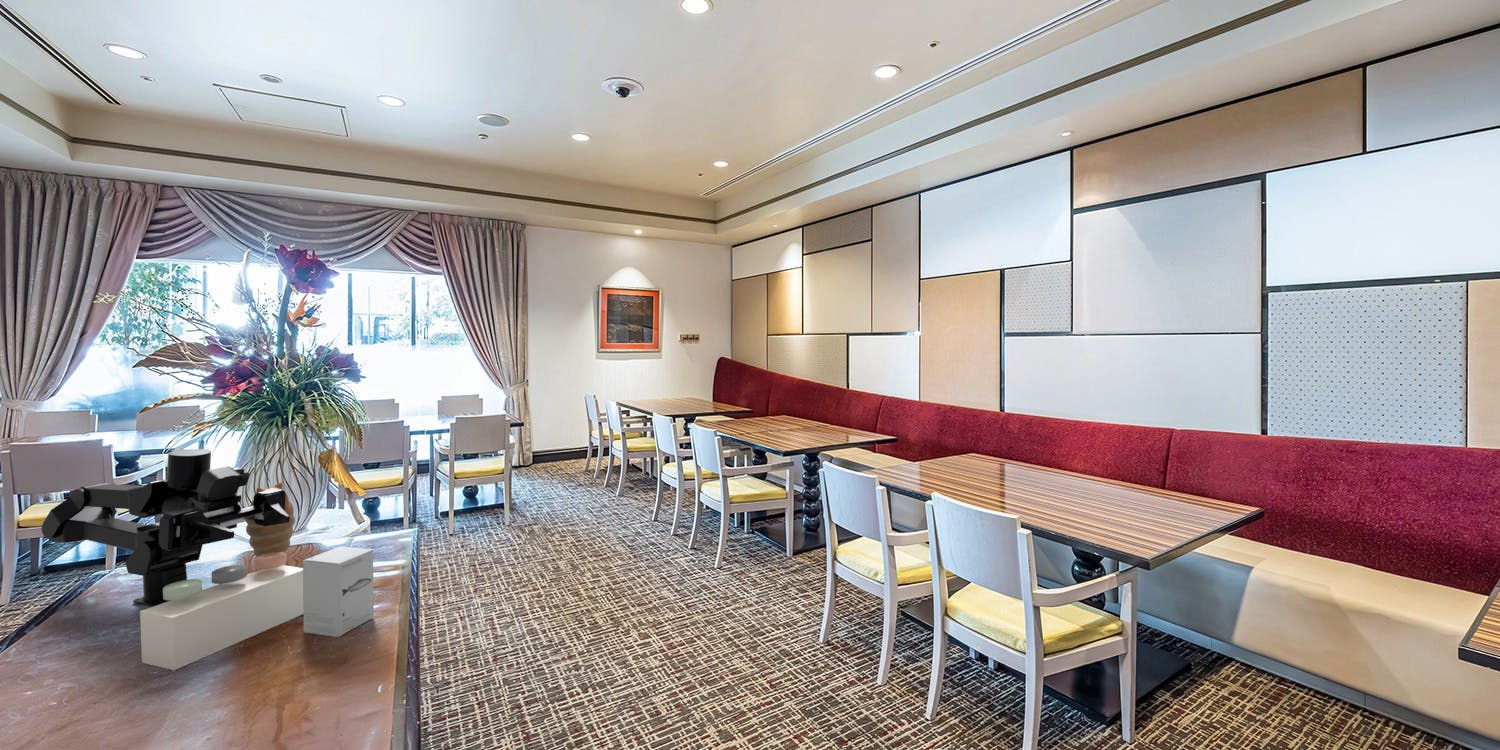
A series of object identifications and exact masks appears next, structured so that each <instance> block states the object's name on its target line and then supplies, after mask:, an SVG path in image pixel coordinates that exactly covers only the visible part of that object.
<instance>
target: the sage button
mask: <svg viewBox="0 0 1500 750" xmlns="http://www.w3.org/2000/svg"><path fill="white" fill-rule="evenodd" d="M202 590H203V580H201V579H199V578H198V579H197V578H196V579H195V578H192V579H187V580H183V581H179V582H175V583H172V584H169V585H167V586H165V587H164V588H163V599H164V600H179V599H185V598H189V597H192V596H195V595H197V594H199V593H201V592H202Z"/></svg>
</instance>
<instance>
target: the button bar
mask: <svg viewBox="0 0 1500 750" xmlns="http://www.w3.org/2000/svg"><path fill="white" fill-rule="evenodd" d="M302 615H304V611H303V567H297V566H292V565H291V566H290V565H285V564H284V565H282V566H279V567H275V568H271V569H258V570H256V571H254V572H250V573H247V576H246V577H245V578H243V579H241V580H238V581H235V582H231V583H224V584H216V585H215V584H214V585H212V586H210V587H207V588H204V589H202V592H201V593H199V594H197V595H195V596H192V597H189V598H185V599H179V600H171V601H168V602H165V603H163V604H160V605H157V606H154V607H151V606H150V607H148V608H146V609H142V610H139V617H140V618H139V619H140V643H141V644H140V646H141V663H142V664H147V665H151V666H155V667H159V668H164V669H167V670H170V671H171V670H172V671H177V670H178V669H180V668H182V667H185V666H187V665H188V666H189V665H190V664H191V663H195V662H196V661H197V662H198V661H199V660H201V659H203V658H206V657H208V656H210V655H213V654H215V653H218V652H219V651H222V650H224V649H226V648H229V647H230V646H234V645H236V644H238V643H240V642H243V641H245V640H246V639H249V638H251V637H254V636H256V635H258V634H261V633H263V632H265V631H267V630H269V629H272V628H274V627H277V626H279V625H281V624H283V623H286V622H288V621H291V620H293V619H296V618H298V617H300V616H302Z"/></svg>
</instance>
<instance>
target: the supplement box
mask: <svg viewBox="0 0 1500 750" xmlns="http://www.w3.org/2000/svg"><path fill="white" fill-rule="evenodd" d="M302 568H303V611H304V614H303V633H306V634H311V635H319V636H327V637H333V638H340V637H341V636H342V635H345V634H346V633H347V632H349V631H352V630H353V629H355V628H357V627H358V626H360V625H362V624H364V623H366V622H368V621H370V620H372V619H373V618H374V613H375V612H374V605H375V604H374V602H375V601H374V597H375V596H374V549H372V548H371V549H370V548H361V547H347V546H337V547H335V548H333V549H331V550H327V551H325V552H321V553H319V554H317V555H314V556H311V557H308V558H307V559H303V560H302Z"/></svg>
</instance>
